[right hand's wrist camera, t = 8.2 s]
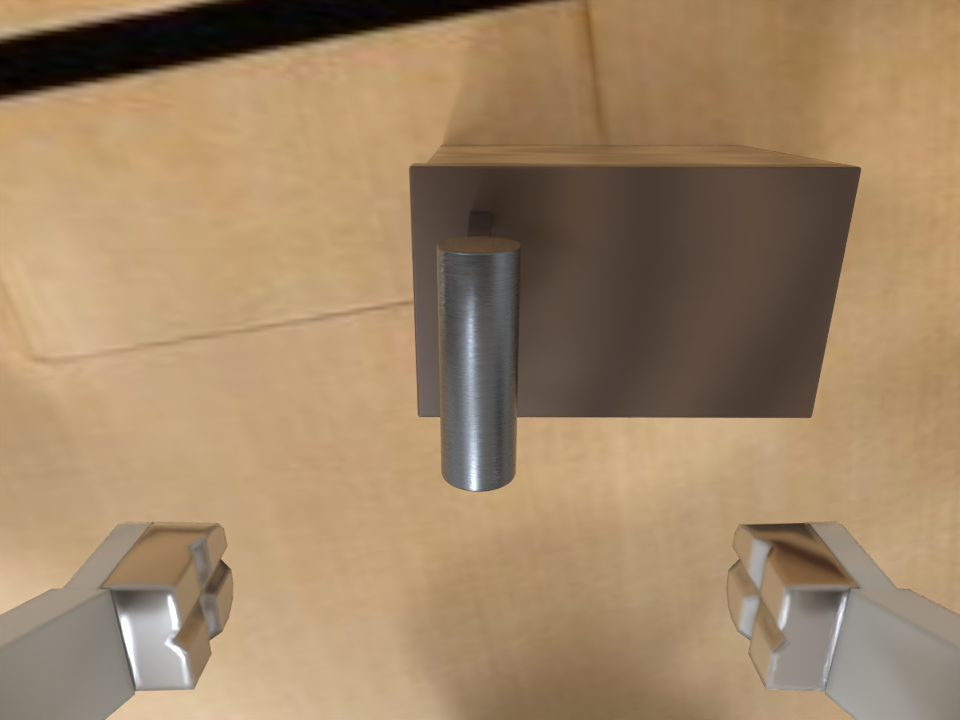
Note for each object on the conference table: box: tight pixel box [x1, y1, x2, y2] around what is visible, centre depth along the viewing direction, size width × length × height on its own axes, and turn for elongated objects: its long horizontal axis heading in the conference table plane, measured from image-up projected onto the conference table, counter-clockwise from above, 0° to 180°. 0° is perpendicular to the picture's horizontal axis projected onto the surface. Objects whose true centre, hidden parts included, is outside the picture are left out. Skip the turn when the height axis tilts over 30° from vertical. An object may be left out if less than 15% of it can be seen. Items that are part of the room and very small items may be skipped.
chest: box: [427, 145, 840, 164], centre depth 30 cm, size 15×9×10 cm, turn 90°
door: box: [409, 164, 861, 491], centre depth 21 cm, size 15×9×8 cm, turn 90°
